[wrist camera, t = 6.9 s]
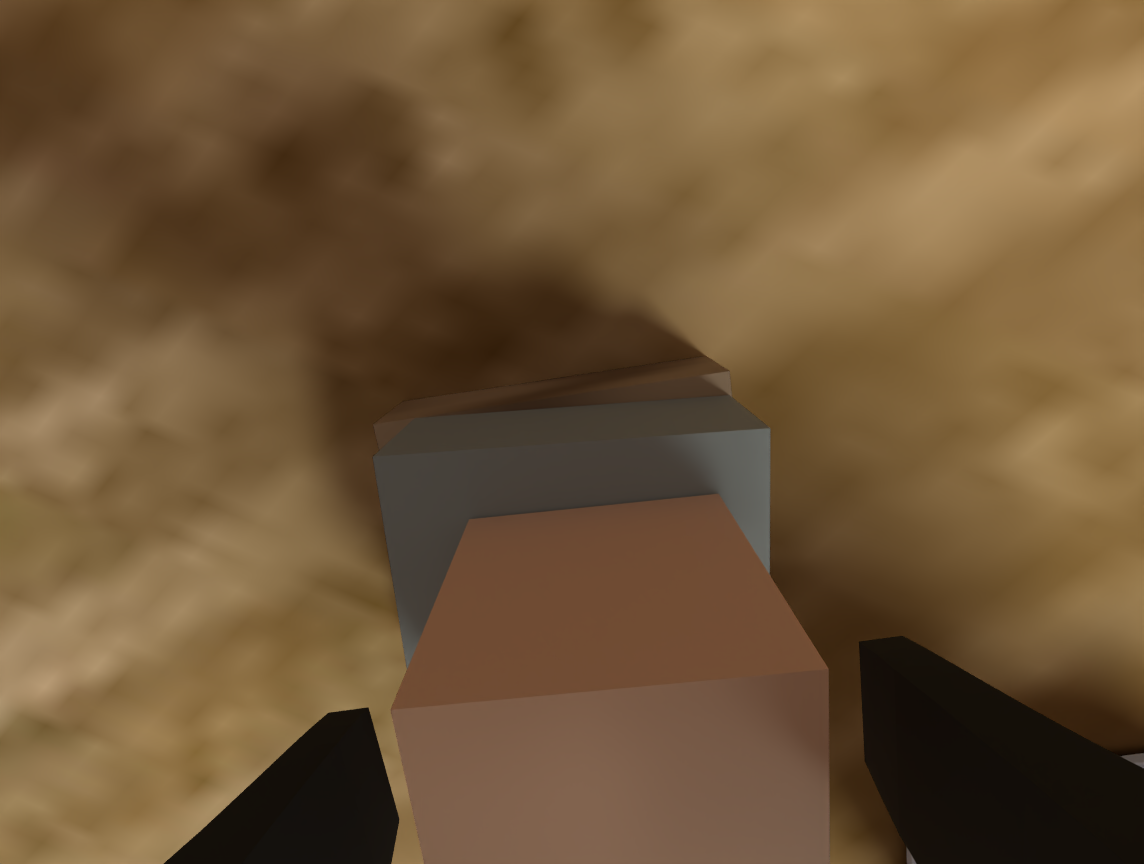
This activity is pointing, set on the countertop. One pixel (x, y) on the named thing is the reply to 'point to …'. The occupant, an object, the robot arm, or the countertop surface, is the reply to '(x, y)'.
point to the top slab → (558, 476)
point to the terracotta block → (615, 697)
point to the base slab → (570, 392)
